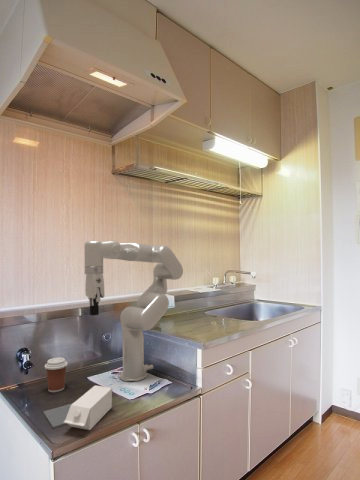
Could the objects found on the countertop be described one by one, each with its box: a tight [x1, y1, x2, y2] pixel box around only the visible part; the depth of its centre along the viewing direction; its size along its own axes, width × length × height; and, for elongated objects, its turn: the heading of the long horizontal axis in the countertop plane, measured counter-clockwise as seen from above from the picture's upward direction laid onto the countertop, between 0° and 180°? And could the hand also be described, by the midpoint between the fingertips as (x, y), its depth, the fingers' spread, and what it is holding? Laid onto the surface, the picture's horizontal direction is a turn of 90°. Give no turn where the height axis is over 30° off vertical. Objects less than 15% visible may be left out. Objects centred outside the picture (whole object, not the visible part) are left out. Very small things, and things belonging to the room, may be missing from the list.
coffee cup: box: [44, 357, 69, 393], centre depth 137 cm, size 9×9×12 cm
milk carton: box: [63, 385, 113, 431], centre depth 111 cm, size 7×7×19 cm
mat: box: [42, 402, 74, 429], centre depth 116 cm, size 17×13×1 cm
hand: (94, 314), depth 136 cm, fingers closed
